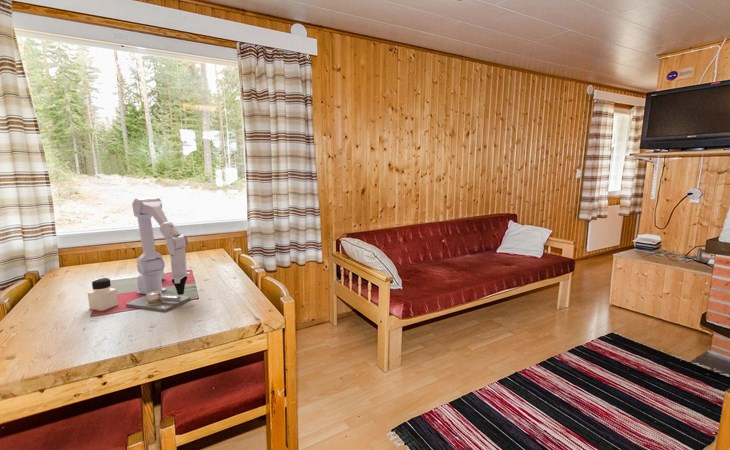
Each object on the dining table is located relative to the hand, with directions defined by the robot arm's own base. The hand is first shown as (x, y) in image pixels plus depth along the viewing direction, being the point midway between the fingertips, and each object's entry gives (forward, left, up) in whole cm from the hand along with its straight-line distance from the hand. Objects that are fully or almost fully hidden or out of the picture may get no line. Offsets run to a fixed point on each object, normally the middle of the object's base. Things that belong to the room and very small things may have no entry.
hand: (180, 294), depth 154 cm
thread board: (-8, -4, -4) cm, 10 cm away
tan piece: (-4, -5, -2) cm, 7 cm away
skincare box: (-33, +20, -4) cm, 39 cm away
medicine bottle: (-26, -14, -4) cm, 30 cm away
